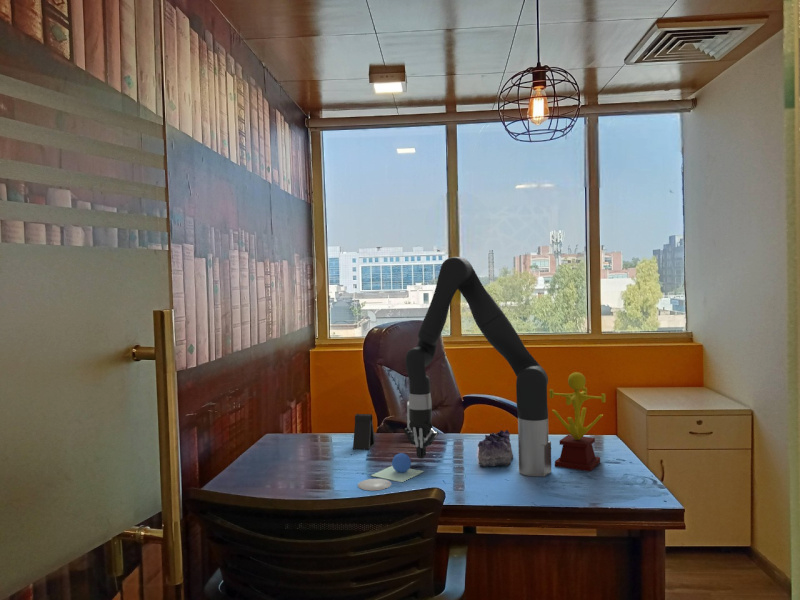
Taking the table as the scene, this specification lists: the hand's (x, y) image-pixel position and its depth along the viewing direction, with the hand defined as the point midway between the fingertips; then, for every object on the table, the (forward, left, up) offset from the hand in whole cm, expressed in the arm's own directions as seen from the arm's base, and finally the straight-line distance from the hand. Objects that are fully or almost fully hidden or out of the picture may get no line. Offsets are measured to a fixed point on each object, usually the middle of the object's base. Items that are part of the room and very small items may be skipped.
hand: (421, 457), depth 199 cm
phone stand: (+29, -6, -2) cm, 30 cm away
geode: (-20, -15, -2) cm, 25 cm away
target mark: (0, +14, -2) cm, 14 cm away
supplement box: (+22, -31, -2) cm, 38 cm away
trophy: (-45, -24, -2) cm, 51 cm away
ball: (0, +12, +2) cm, 12 cm away
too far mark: (0, +26, -2) cm, 26 cm away
